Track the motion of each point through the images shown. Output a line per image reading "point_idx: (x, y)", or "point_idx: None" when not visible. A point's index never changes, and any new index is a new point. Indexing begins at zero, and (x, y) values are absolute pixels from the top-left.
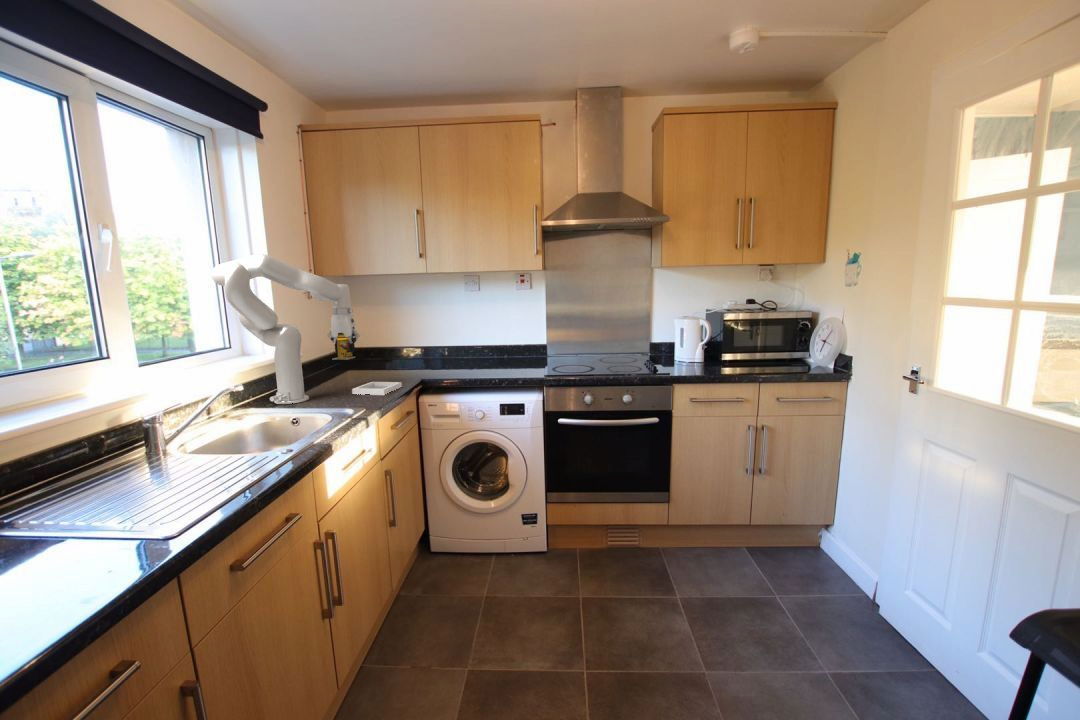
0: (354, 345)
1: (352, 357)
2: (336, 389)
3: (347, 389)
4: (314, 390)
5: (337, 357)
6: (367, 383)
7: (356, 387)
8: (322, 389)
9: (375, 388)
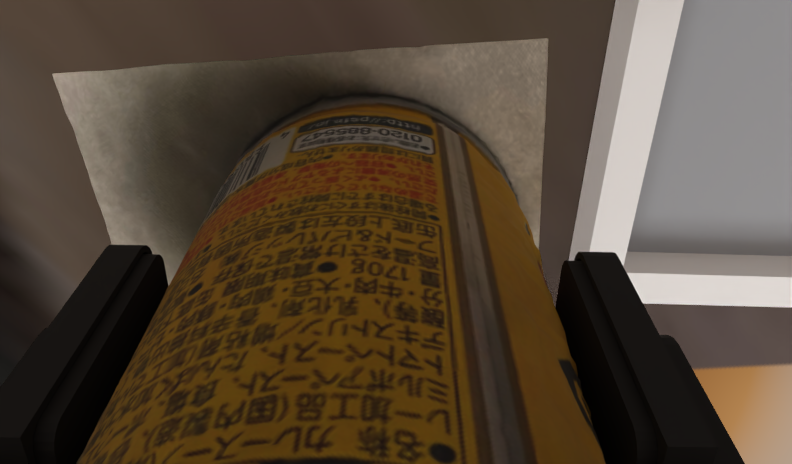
0: (722, 425)
1: (471, 112)
2: (237, 52)
3: (375, 44)
4: (18, 120)
5: (80, 144)
6: (643, 9)
7: (599, 242)
8: (64, 63)
9: (757, 76)
